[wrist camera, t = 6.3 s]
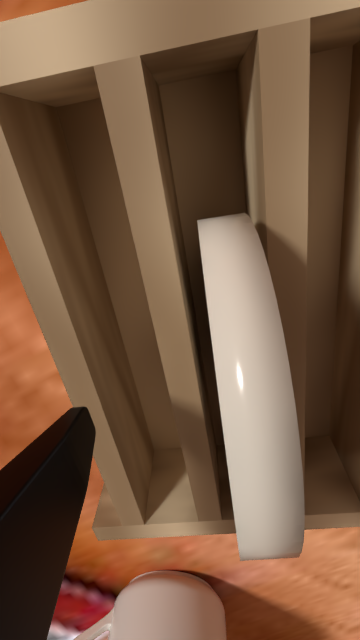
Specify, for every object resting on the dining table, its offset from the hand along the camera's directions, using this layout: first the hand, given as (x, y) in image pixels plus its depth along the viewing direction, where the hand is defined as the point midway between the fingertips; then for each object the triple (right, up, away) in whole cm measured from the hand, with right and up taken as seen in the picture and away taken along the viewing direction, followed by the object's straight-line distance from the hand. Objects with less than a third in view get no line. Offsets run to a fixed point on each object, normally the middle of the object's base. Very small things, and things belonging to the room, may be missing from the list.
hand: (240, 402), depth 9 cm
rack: (0, +3, +6) cm, 7 cm away
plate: (0, +1, +1) cm, 1 cm away
